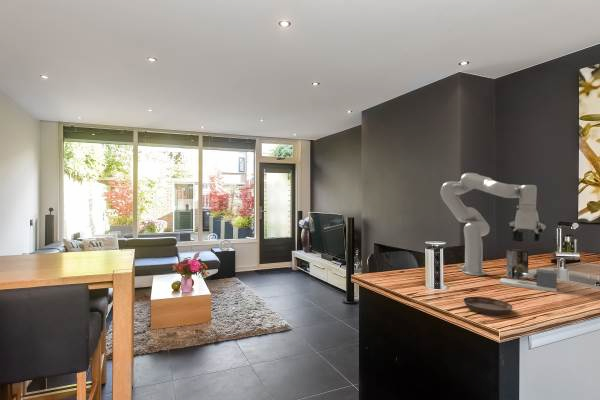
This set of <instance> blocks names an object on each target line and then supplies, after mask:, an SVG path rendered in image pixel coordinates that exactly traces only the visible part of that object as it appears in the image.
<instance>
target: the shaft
mask: <svg viewBox="0 0 600 400" xmlns="http://www.w3.org/2000/svg"><path fill="white" fill-rule="evenodd" d="M519 277H525V278H528V279H533V280H534V279H535V280H536V279H537V273H530V272H528V273H521V272H519V270H517V269H515V273H514V278H515V279H514V280H520V279H519Z"/></svg>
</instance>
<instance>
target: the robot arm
mask: <svg viewBox="0 0 600 400" xmlns="http://www.w3.org/2000/svg"><path fill="white" fill-rule="evenodd" d="M473 189H475V190H478V191H482V192H484V193H487V194H490V195H495V196H497V197H501V198H505V199H517V198H518V199H519V201H518V203H519V204H518V205H515V206H516V208H517V210H516V212H515V218H514V219H515V220H513V221H510V222H509V223H508V224H509V226H510V228H511V230H512V231H513V237H514V239H519V238H520V237H519V236H520V231H519V230H520V229H522V230H533V231H534V240H533V241H534V242H539V240H540V235H541V233H542V232H544V230H545V229H546V228H547V226H546V225H545V224H543V223H541V222H540V220H539V213H538V210H537V196H538V195H537V193H538V191H537V190H538V186H537V185H535V184H522V185H521V184H509V183H504V182H500V181H496V180H495V179H494V180H493V179H492V178H491V177H489V176H485V175H480V174H479V173H475V172H466V173H463V174H462V175H461V177H460V180H459V181H446V182H444V183H443V184H442V186H441V188H440V197H441V200H442V201H443V203H444V204H445V205H446V206H447V208H448V209H449V211H451V213H452V215H453V216H454V217H455V218H456V220H457V221H458V222H459V223H465V225H464V226H463V236H464V264H463V265H461V264H457V265H456V268H457V269H460V270H461V269H462V270H461V273H463V274H465V275H469V276H477V277H478V276H480V277H481V276H486V272H485V271H483V261H484V260H483V257H484V255H483V254H484V253H483V251H484V250H483V249H484V248H483V247H484V244H483V239H482V237H485V236H487V235H488V234H489V233H490V229H491V228H490V225H489V223H488V222H487V221H486V220H485V218H484V217H483V215H482V214H481V213H480V212H479V211H478V210H477V209H476V208H474V207H471V206H468V207H467V206H466V204H464V203H463V202H462V200H461V199H460V198H459V197H458V196H460V195H463V194H466V193H468V192H470V191H472V190H473ZM539 227H540V228H539Z"/></svg>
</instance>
